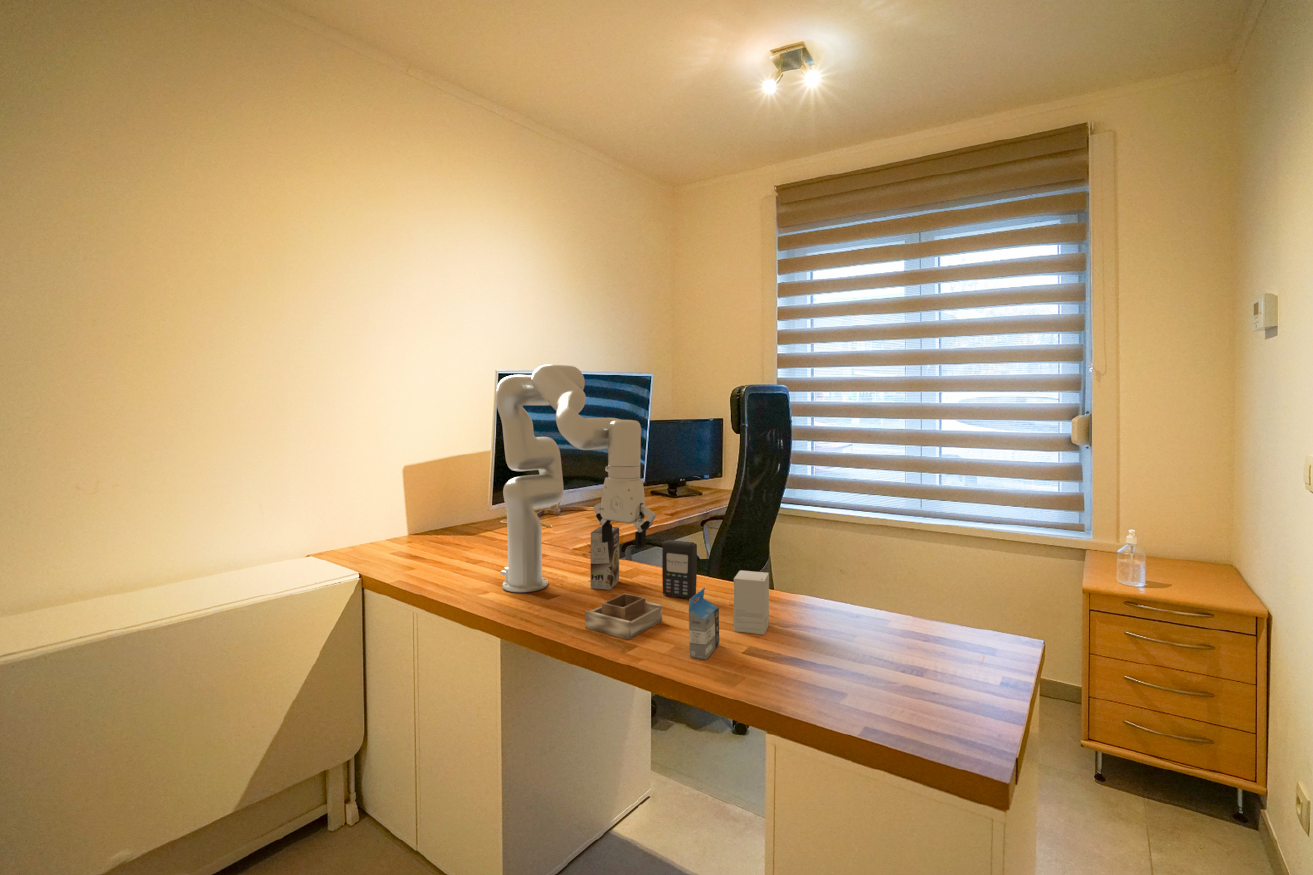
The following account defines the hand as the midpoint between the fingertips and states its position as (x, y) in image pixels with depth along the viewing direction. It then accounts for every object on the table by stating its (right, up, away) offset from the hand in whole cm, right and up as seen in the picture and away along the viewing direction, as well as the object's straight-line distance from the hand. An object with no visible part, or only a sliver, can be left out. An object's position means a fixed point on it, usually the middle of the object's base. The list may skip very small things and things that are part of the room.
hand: (623, 544), depth 143 cm
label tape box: (+18, -20, -14) cm, 31 cm away
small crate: (0, -18, +1) cm, 18 cm away
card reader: (+14, -18, +22) cm, 32 cm away
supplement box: (+30, -20, -1) cm, 36 cm away
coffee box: (-7, -17, +32) cm, 37 cm away
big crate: (0, -19, +1) cm, 19 cm away
